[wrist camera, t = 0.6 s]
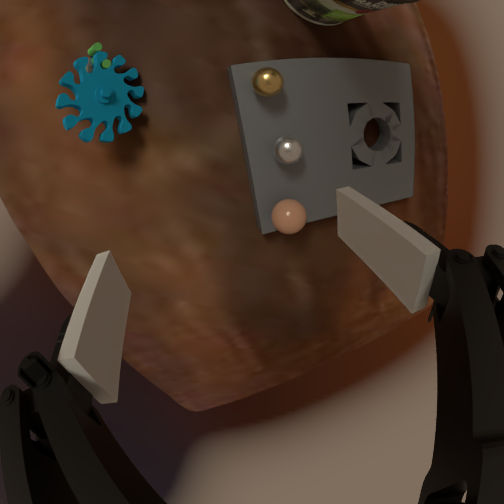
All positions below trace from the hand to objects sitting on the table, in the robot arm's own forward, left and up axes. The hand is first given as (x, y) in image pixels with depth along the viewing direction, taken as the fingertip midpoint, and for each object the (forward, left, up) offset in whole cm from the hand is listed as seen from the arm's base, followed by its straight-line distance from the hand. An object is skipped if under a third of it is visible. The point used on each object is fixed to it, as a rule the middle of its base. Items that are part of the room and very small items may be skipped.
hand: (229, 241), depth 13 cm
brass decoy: (-7, +8, -16) cm, 19 cm away
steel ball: (0, +9, -16) cm, 18 cm away
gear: (-11, -8, -20) cm, 25 cm away
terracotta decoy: (+8, +8, -16) cm, 19 cm away
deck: (0, +16, -20) cm, 25 cm away
